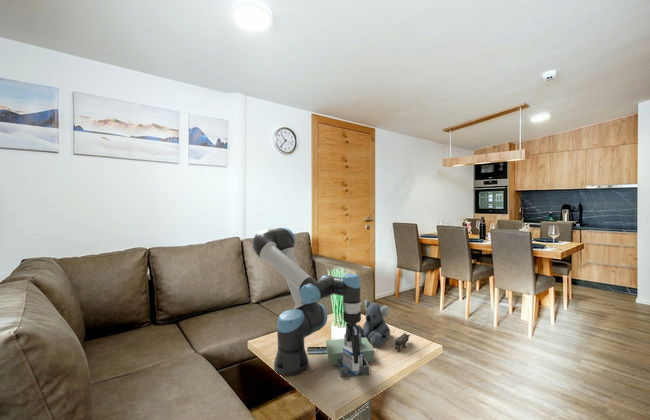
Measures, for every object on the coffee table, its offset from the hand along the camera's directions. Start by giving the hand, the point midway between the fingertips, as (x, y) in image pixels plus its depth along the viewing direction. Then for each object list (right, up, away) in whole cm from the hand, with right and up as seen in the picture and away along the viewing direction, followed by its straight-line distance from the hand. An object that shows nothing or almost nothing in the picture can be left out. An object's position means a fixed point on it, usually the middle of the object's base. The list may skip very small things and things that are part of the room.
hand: (352, 363), depth 126 cm
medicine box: (0, -3, +1) cm, 3 cm away
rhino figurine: (+27, -3, +21) cm, 34 cm away
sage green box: (0, -3, +13) cm, 13 cm away
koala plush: (+15, -3, +31) cm, 34 cm away
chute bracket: (0, -3, +1) cm, 4 cm away
